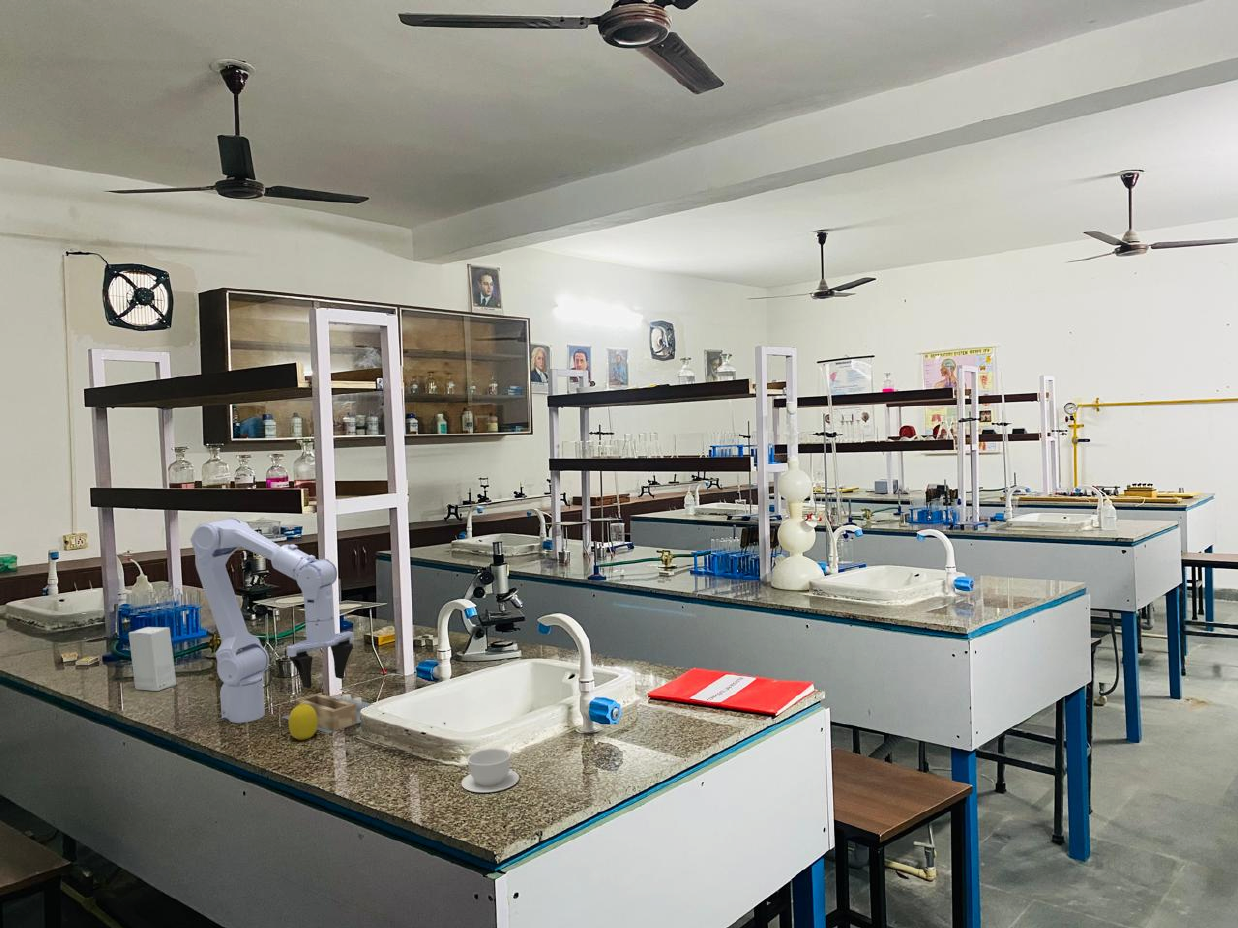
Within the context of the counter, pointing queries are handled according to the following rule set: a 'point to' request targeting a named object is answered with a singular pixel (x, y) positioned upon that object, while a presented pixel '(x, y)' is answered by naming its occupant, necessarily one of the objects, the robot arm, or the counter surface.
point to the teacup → (489, 771)
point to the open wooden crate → (331, 711)
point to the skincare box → (152, 658)
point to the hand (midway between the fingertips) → (323, 682)
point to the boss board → (347, 698)
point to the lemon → (303, 722)
